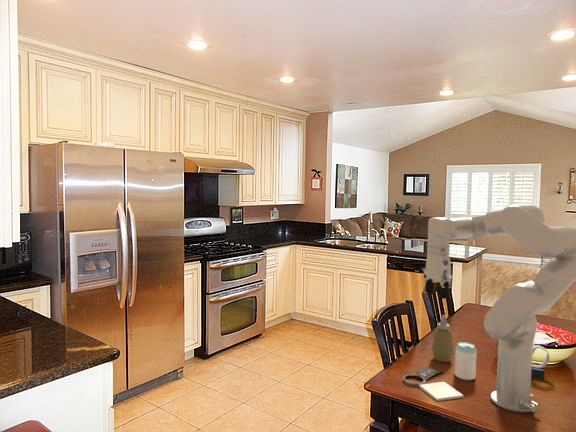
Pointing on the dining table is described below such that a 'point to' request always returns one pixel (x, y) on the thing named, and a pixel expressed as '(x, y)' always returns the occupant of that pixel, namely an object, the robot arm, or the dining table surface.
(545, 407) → the dining table surface
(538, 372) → the watch
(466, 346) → the can
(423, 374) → the keychain
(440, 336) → the squeeze bottle
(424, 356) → the dining table surface
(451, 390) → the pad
